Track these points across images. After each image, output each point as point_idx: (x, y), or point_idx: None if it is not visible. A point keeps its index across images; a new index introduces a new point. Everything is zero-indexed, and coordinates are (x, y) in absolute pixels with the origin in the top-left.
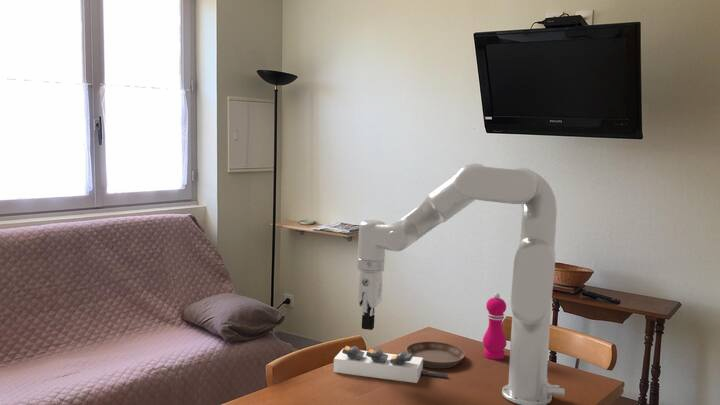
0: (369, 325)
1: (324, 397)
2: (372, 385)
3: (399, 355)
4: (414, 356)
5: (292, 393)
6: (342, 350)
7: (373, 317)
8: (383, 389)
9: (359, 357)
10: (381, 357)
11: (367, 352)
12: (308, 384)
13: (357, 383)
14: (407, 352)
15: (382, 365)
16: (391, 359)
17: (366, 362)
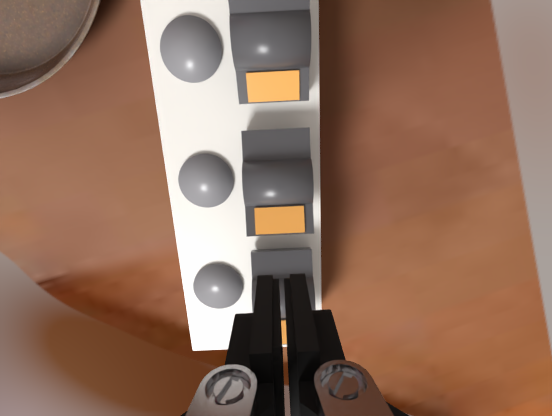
0: (328, 313)
1: (528, 268)
2: (389, 148)
3: (299, 42)
4: (12, 55)
5: (514, 358)
6: (219, 345)
7: (300, 338)
8: (416, 95)
9: (310, 255)
10: (303, 152)
11: (311, 230)
12: (437, 343)
13: (386, 206)
14: (49, 76)
15: (319, 136)
16: (299, 95)
17: (319, 214)
